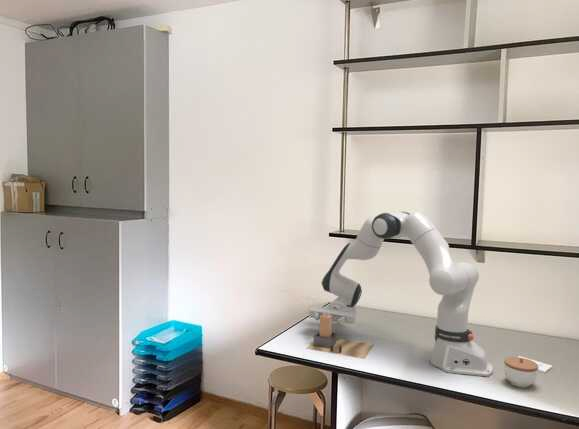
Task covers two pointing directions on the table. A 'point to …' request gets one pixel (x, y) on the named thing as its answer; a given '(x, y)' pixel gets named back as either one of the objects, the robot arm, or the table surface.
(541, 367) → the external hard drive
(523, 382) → the lidded jar
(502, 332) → the table surface
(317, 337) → the end holder
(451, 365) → the robot arm
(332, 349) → the cable board
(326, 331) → the tan tall block
